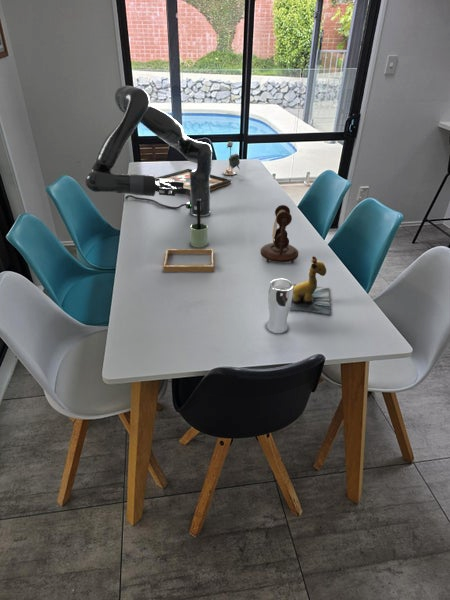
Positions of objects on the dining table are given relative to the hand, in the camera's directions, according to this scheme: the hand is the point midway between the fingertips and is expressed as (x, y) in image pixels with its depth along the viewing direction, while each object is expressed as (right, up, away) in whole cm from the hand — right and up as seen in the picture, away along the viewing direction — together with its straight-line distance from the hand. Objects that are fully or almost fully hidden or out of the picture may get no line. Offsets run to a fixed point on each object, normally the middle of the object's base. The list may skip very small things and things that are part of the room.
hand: (184, 188), depth 153 cm
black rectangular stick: (+5, -19, +12) cm, 23 cm away
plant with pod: (+19, +36, +98) cm, 106 cm away
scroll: (+37, -26, +4) cm, 45 cm away
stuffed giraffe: (+41, -43, -21) cm, 63 cm away
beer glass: (+31, -51, -34) cm, 69 cm away
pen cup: (+5, -20, +12) cm, 24 cm away
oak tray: (+2, -29, -1) cm, 29 cm away
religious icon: (-4, +25, +80) cm, 84 cm away
